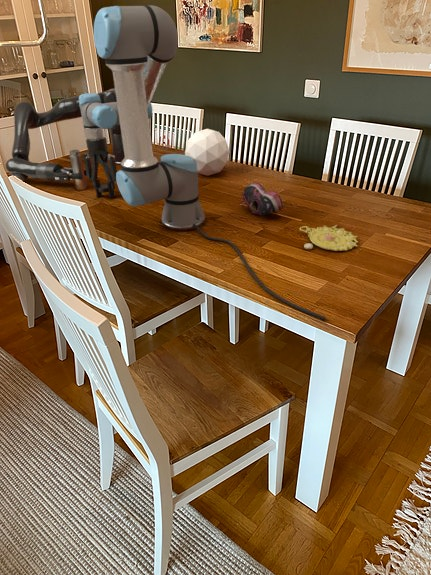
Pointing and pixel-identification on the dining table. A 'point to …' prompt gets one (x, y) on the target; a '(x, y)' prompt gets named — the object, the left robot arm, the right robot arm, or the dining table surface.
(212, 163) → the sphere
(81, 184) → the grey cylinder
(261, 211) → the athletic shoe
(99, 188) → the lid
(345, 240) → the decorative object
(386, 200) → the dining table surface
